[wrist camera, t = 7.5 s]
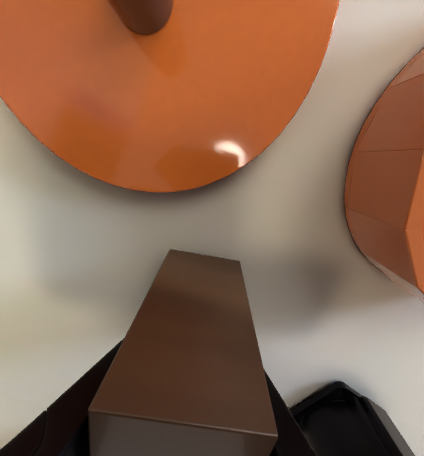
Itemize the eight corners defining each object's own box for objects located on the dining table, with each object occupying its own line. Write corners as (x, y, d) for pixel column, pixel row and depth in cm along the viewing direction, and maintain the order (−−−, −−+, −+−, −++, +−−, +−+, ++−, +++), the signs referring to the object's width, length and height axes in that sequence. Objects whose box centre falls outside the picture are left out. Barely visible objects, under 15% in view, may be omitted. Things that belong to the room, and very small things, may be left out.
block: (226, 316, 13) (238, 523, 6) (163, 305, 13) (90, 505, 6) (239, 260, 12) (280, 437, 4) (169, 248, 12) (86, 410, 4)
